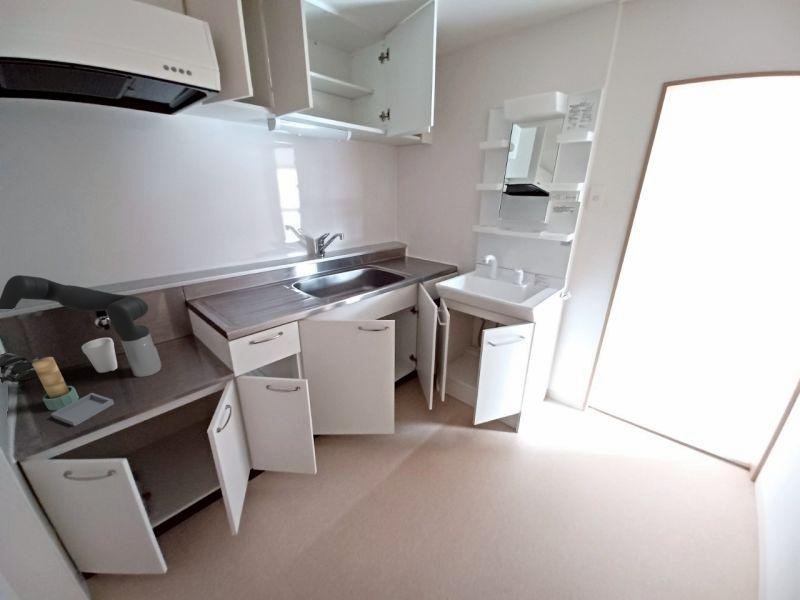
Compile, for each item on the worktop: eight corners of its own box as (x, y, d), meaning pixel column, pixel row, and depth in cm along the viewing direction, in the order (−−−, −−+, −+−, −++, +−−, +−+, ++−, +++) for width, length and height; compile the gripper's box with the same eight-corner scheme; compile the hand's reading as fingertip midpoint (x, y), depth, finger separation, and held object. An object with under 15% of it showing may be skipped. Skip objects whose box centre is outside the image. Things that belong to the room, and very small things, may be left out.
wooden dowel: (62, 398, 115) (41, 357, 108) (77, 397, 115) (57, 356, 108) (49, 407, 110) (27, 365, 103) (64, 407, 110) (43, 364, 104)
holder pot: (62, 397, 116) (56, 386, 114) (84, 396, 117) (79, 385, 115) (42, 412, 109) (36, 400, 107) (66, 410, 110) (60, 399, 108)
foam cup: (119, 360, 139) (109, 335, 134) (124, 368, 134) (114, 342, 129) (91, 370, 132) (79, 343, 127) (95, 378, 127) (83, 351, 122)
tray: (54, 419, 106) (51, 413, 105) (94, 397, 116) (91, 392, 115) (75, 427, 102) (72, 421, 102) (114, 404, 113) (112, 399, 112)
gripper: (-26, 365, 109) (-1, 375, 104) (29, 346, 121) (54, 354, 117) (-16, 383, 112) (10, 393, 107) (37, 362, 124) (62, 370, 120)
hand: (33, 372), depth 112 cm, fingers open, 8 cm apart
